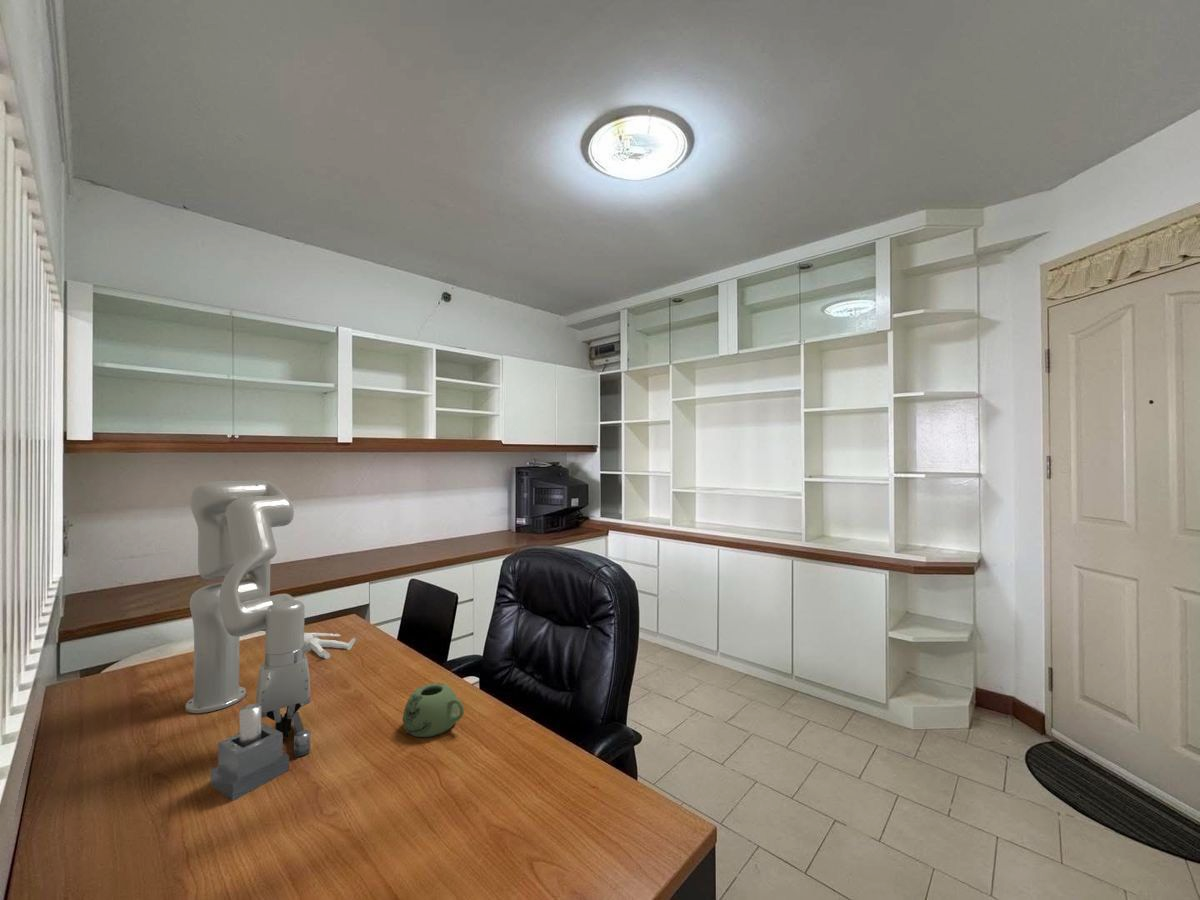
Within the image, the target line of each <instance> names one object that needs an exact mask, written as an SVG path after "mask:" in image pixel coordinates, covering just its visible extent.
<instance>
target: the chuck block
mask: <svg viewBox="0 0 1200 900" xmlns="http://www.w3.org/2000/svg"><path fill="white" fill-rule="evenodd" d="M283 739H284V738H283V733H282V732H280V731H278V730H276V729H275V728H273V727H272V726H270V725H269V724H267V723H264V722H261V740H259V741H257V742H255V743H253V744H250V745H248V746H246V747H244V748H242V747H241V746H239V733H237V734H234V735H232V736H230V737H228V738H226V739H224V740H221V741H219V742H218V744H217V745H218V746H217V747H218V748H217V753H218V754H217V766H216V767H214V768H212V769H210V786H211V787H213V788H214V789H215V790H217V791H218V792H220V793H221V794H223V796H225V797H227V798H228V799H229V800H231V801H235V800H237V799H239V798H240V797H242V796H245V795H246V794H248V793H250V792H251V791H253V790H255V789H257V788H260V787H261V786H263V785H264V784H266V783H268V782H270V781H272V780H273V779H275V778H277V777H279V776H281V775H283V774H284V773H287V772H288V771H290V755H289V754H287V753H286V752H285V753H284V751H283V750H284V749H283V748H284V746H283V745H284V744H283V743H284V741H283Z"/></svg>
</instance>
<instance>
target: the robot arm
mask: <svg viewBox="0 0 1200 900" xmlns="http://www.w3.org/2000/svg"><path fill="white" fill-rule="evenodd" d="M190 509H191V513H192V516H193V518H194V521H195V523H196V526H197V531H198V532H197V533H198V534H197V571H198V573H199V574H198V575H200V577H201V578H202V579H206V580H215V579H216V580H217V579H223V578H224V579H223V581H222V582H218V583H212V584H207V585H205V586H203V587H200V588H198V589H197V590H195V591H194V592H193V593H192V595H191V596H190V599H189V610H190V614H191V619H192V625H193V626H192V627H193V697H191V698H190V699H189V700H188V701H187V702H186V703H185V711H186V712H187V713H191V714H204V713H209V712H214V711H219V710H222V709H225V708H227V707H230V706H232V705H234V704H236V703H239V702H240V701H241V700H243V698H244V697H245V696H246V694H247V689H246V688H245V687H243V686H240V637H244V636H249V635H250V634H251V635H252V634H254V633H257V632H261V631H265V634H264V635H265V636H264V639H265V641H264V643H265V645H264V663H262V664H261V665H260V668H259V671H258V677H257V685H256V703H255V704H261V719H262V718H268V719H270V720H273V721H274V723H275V725H274V726H275V728H274V729H276V730H278V731H280V732H282V733H283V739H284V738H285V739H286V738H288V737H289V732H291V731H292V724H291V718H293V715H294V714H295V713H296V712H299V711H298V710H300V708H302V707H305V706H306V705H308V704H311V702H312V701H311V679H310V668H309V661H308V657H307V655H306V654H307V653H309V652H311V651H312V649H311V646H305V645H304V633H305V612H306V611H305V605H304V603H303V602H302V601H301V600H296V599H294V597H293V596H292V595H290V594H289V593H278V594H273V595H271V560H272V559H273V558H274V557H275V556H276V555H277V551H278V549H277V547H276V546H277V545H276V542H275V538H274V533H273V529H272V528H278V527H279V528H280V527H286V526H288V525H290V524H291V523H292V522H293V520H294V516H295V511H294V507H293V503H292V501H291V499H290V498H289V496H287V495H286V493H285V492H283V490H281V489H280V488H278V487H277V486H276V485H275V484H274V483H272V482H271V481H268V480H264V479H253V480H252V479H250V480H249V479H248V480H247V479H246V480H245V479H244V480H221V481H209V482H204V483H201V484H199V485H197V486H195V488H193V490H192V492H191V496H190ZM245 575H246V577H244V576H245ZM284 708H286V710H285V713H284V714H283V715H282V714H281V709H284Z"/></svg>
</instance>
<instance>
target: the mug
mask: <svg viewBox="0 0 1200 900" xmlns="http://www.w3.org/2000/svg"><path fill="white" fill-rule="evenodd" d="M464 711H465V710H464V704H463V702H462V700H461V699H459V698H457V695H456V694H455V691H454V690H453V689H452V688H451V687H450V686H449V685H447V684H445V683H437V682H436V683H429V684H426V685H422V686H421V687H418V688H417V689H415V690H414V691H413V692H412V693H411V694H410V696H409V698H408V700H407V702H406V705H405V707H404V710H403V715H402V724H403V727H404V731H405V732H406V733H408V734H410V735H411V736H413V737H415V738H417V737H419V738H431V737H435V736H437V735H440V734H443V733H445V732H446V731H449V729H451V728H452V727H453V726H454V724H455V723H456V722H458V721H460V720H461V719H462V718H463V716H464V713H465V712H464Z"/></svg>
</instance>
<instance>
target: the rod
mask: <svg viewBox="0 0 1200 900" xmlns="http://www.w3.org/2000/svg"><path fill="white" fill-rule="evenodd" d="M238 711H239V717H238V718H239V720H238V721H239V724H238V725H239V729H238V730H239V731H238V734H239V746H241V747H242V748H244V747H246V746H248V745H250V744H253V743H255V742H257V741H259V740H261V723H262V718H261V704H257V703H250V704H247V705H245V706H243V707H241V708H240V709H239V710H238Z"/></svg>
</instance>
